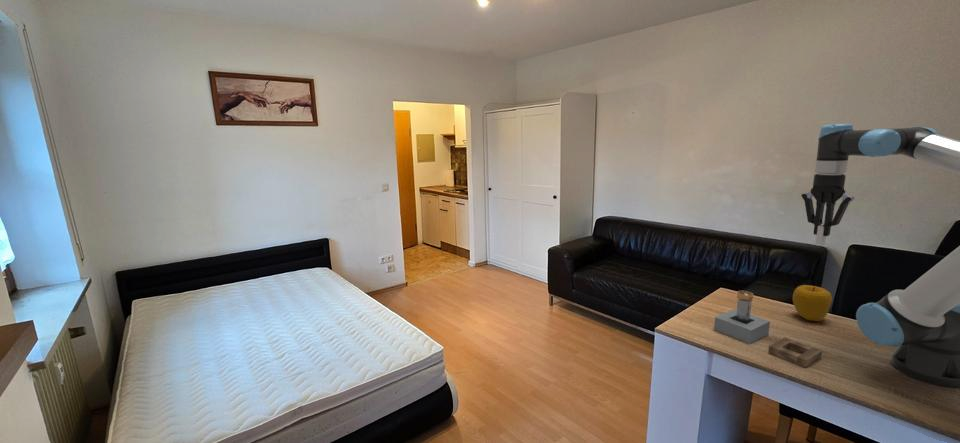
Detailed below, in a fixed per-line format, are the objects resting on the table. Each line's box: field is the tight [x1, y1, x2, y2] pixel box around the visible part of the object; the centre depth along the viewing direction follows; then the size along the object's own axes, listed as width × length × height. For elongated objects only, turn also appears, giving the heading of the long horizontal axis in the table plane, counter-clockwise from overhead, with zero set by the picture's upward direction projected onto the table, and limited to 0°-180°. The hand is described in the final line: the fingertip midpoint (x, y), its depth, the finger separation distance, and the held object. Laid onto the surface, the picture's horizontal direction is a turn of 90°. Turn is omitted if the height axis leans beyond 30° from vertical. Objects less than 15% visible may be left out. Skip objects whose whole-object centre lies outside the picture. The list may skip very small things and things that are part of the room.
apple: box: [792, 284, 833, 322], centre depth 144 cm, size 11×11×13 cm
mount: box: [767, 337, 823, 369], centre depth 122 cm, size 10×10×2 cm
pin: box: [736, 290, 754, 324], centre depth 136 cm, size 5×5×15 cm
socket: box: [713, 308, 771, 345], centre depth 137 cm, size 12×12×5 cm
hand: (820, 244), depth 128 cm, fingers closed
